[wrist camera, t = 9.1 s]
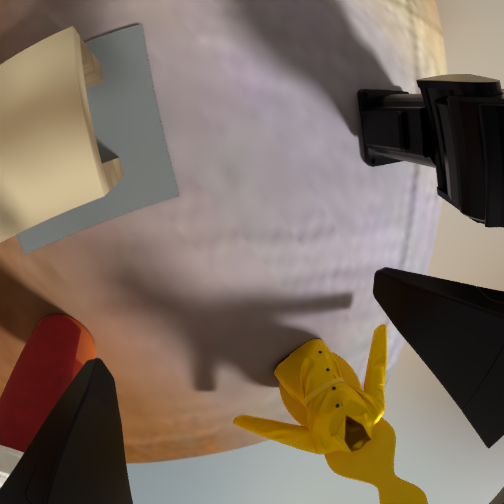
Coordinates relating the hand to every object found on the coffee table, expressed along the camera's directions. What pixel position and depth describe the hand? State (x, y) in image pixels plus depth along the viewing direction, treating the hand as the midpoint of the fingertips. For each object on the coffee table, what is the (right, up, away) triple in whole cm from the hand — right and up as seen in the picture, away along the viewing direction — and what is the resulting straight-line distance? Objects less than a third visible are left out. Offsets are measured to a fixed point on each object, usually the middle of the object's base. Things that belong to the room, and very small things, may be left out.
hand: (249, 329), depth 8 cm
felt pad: (-11, +9, +5) cm, 16 cm away
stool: (-11, +9, +5) cm, 15 cm away
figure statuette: (+5, -10, +20) cm, 23 cm away
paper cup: (-15, -5, +10) cm, 19 cm away
